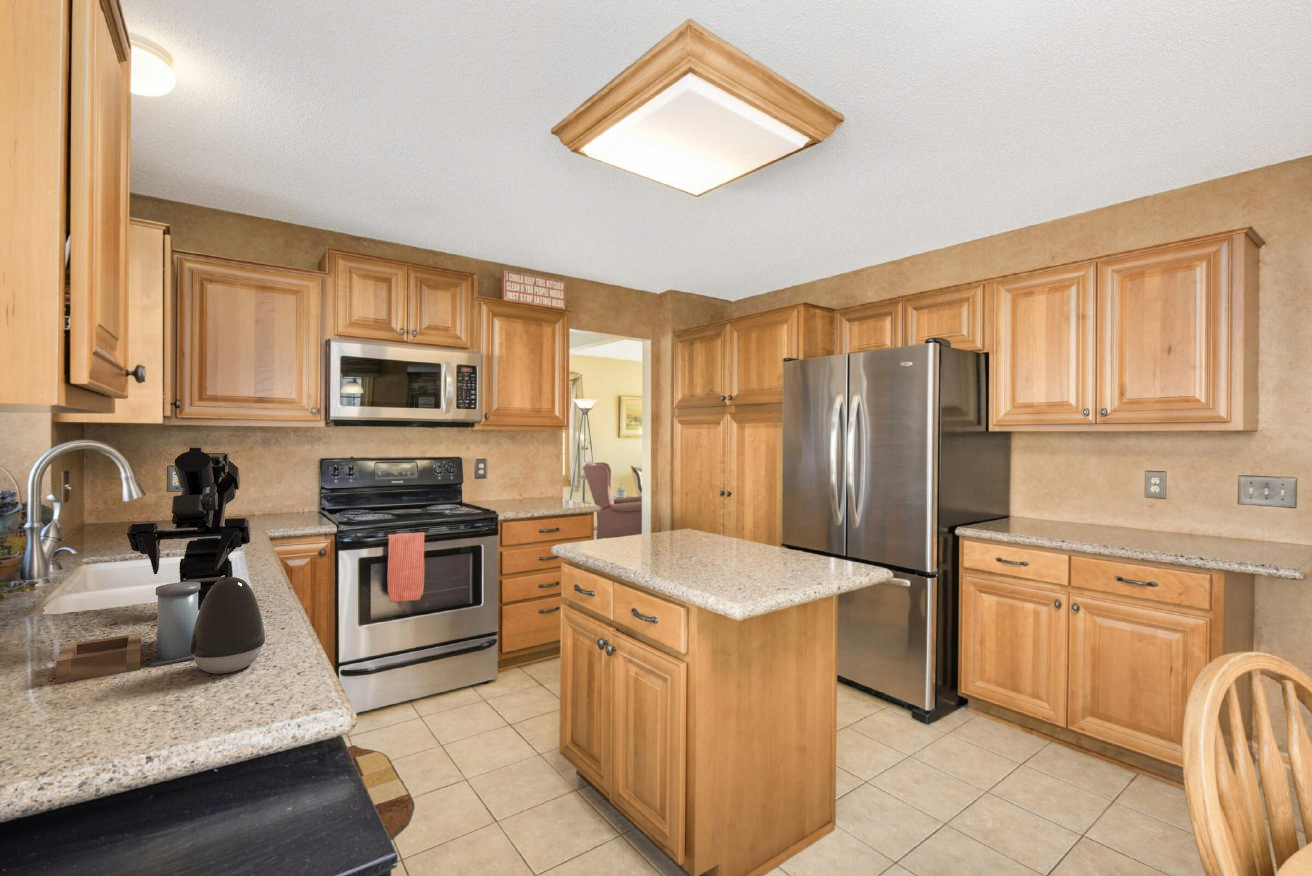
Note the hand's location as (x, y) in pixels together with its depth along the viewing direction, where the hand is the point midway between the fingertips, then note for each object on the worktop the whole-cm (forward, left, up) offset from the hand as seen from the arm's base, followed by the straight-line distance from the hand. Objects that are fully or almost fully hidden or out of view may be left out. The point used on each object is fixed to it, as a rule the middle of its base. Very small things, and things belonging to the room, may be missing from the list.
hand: (186, 570), depth 115 cm
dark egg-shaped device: (+20, +5, -14) cm, 24 cm away
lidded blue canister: (+8, -1, -13) cm, 15 cm away
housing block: (+7, -11, -14) cm, 19 cm away
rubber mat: (+8, -1, -14) cm, 16 cm away
